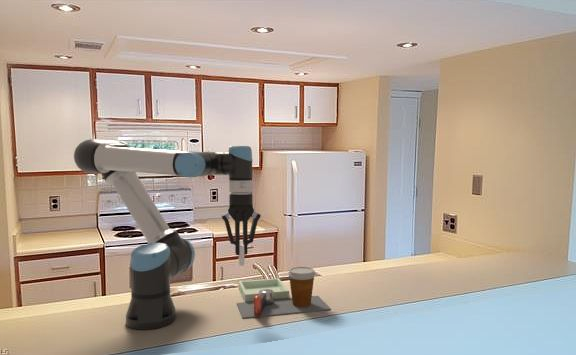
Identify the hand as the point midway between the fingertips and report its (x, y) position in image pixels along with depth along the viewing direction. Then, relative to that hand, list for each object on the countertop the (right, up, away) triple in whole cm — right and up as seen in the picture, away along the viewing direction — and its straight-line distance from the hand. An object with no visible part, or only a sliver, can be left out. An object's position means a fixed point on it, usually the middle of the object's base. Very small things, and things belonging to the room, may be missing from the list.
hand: (241, 264), depth 139 cm
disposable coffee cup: (+20, -16, +7) cm, 26 cm away
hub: (+14, -16, +10) cm, 24 cm away
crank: (+6, -15, 0) cm, 17 cm away
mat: (+14, -16, +6) cm, 22 cm away
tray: (+6, -15, +19) cm, 25 cm away
